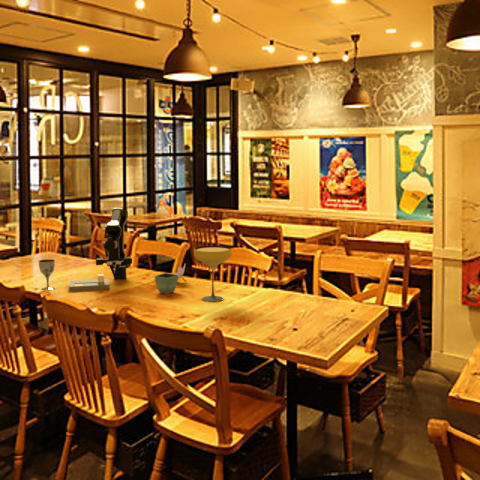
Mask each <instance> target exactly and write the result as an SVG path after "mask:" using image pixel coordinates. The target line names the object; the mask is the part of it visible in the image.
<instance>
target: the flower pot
mask: <svg viewBox="0 0 480 480" xmlns="http://www.w3.org/2000/svg"><path fill="white" fill-rule="evenodd" d="M154 281H155V286H156V288H157V291H158V292H159V293H161V294H167V295H168V294H171V293H174V291H175V290H176V288H177V287H178V286H177V285H178V282H179V280H178V275H175V274H174V273H168V272H163V273H159V274H156V275H154Z"/></svg>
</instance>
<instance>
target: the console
mask: <svg viewBox="0 0 480 480" xmlns="http://www.w3.org/2000/svg"><path fill="white" fill-rule="evenodd" d="M68 286H69V287H68V290H69V293H70V292H87V291H104V290H110V280H109V278H104V282H101V283H98V279H81V280H69V285H68Z"/></svg>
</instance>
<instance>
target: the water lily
mask: <svg viewBox="0 0 480 480" xmlns="http://www.w3.org/2000/svg"><path fill="white" fill-rule="evenodd" d="M185 268H186V264H184V265H183V266H180V267H178V269H177V272H174V273H173V274H175V275H178V281H179V280H180V279H182V280H183V281H184V282H185V283H186V282H187V280H186V279H185V278H184V277H183V275H184V273H185Z"/></svg>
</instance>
